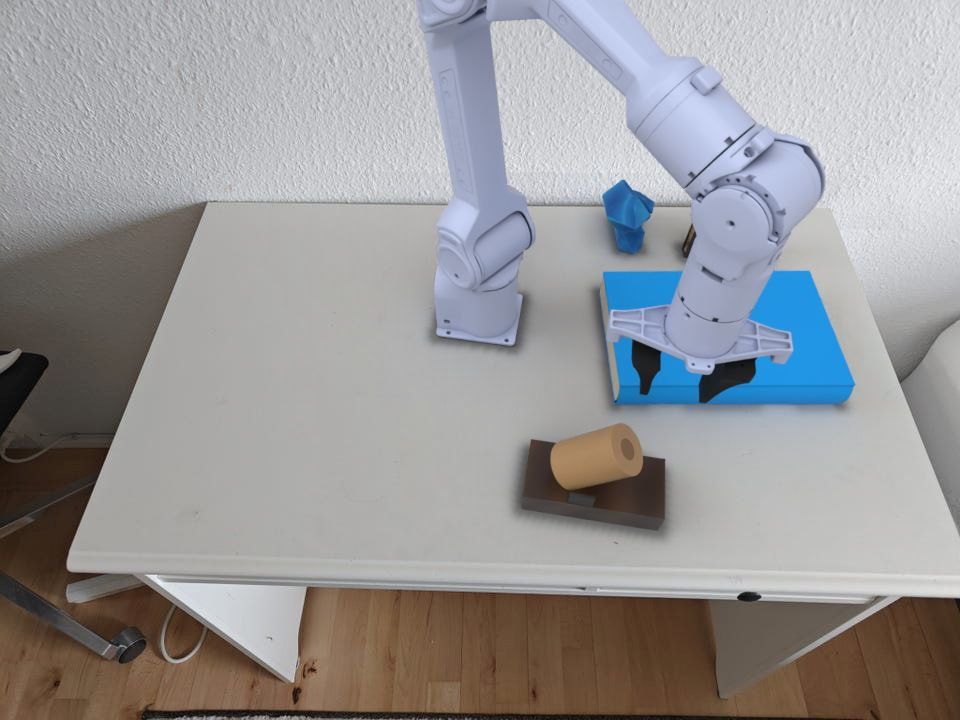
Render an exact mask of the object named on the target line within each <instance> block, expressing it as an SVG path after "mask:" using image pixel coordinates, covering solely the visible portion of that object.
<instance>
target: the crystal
mask: <svg viewBox="0 0 960 720" xmlns="http://www.w3.org/2000/svg"><path fill="white" fill-rule="evenodd" d="M601 198H602V202H603V207H604V210H605V214H606V218H607V220H608V221H609V223H610V224H611V225H612V226H613V230H614V234H615V241H616V246H617V250H618V251H621V252H625V253H629V254H633V255H636V254H637V253H638V252H639V251H640V249H642V246H643V242H644V237H645V233H646V232H645V230H644V228H643V224H644V223H645V222H646V223H647V221H648V220H650V218H651V215H652V214H653V213H654V207H655V201H654V200H652V199H650V198H649V197H648V196H647V195H645V194H644V193H642V192H641V191H638V190H634V189H633V188H632V187H631V185H629V183H628V182H627V181H626V179H621V180H619V181H618V182H617V183H615V184H614V185H612V187H610V188H609V189H607V190H606V191H605V192H604V193H603V194H602V196H601Z"/></svg>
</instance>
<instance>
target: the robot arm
mask: <svg viewBox="0 0 960 720" xmlns="http://www.w3.org/2000/svg"><path fill="white" fill-rule="evenodd" d="M415 4H416V9H417V15H418V20H419V25H420V29H421V32H422V33H423V37H424V42H425V47H426V54H427V58H428V64H429V69H430V70H429V71H430V74H431V80H432V86H433V91H434V97H435V102H436V107H437V111H438V112H437V113H438V116H439V117H438V118H439V122H440V128H441V134H442V140H443V144H444V145H443V146H444V149H445V155H446V159H447V167H448V171H449V177H450V181H451V187H452V193H453V194H452V197H451V199H450V200H449V202H448V204H447V205H446V206H445V209H444V211H443V212H442V213H441V215H440V217H439V218H438V221H437V223H436V225H435V227H436V232H437V243H436V258H437V264H436V265H437V266H436V269H435V276H434V287H433V299H434V308H435V316H436V330H435V334H436V336H437V337H441V338H448V339H455V340H463V341H468V342H469V341H470V342H478V343H485V344H492V345H493V344H494V345H500V346H507V347H513V346H515V344H516V340H517V334H518V328H519V322H520V316H521V311H522V305H523V300H524V296H523V294H522V293H518V290H519V289H518V288H519V270H520V264H521V262H522V261H523V260H524V252H525V251H527V250H529V249H531V248H532V247H533V246H534V244H535V243H536V238H537V237H536V236H537V234H536V233H537V232H536V227H535V223H534V220H533V218H532V216H531V214H530V212H529V210H528V203H527V197H526V195H525V194H524V193H522V191H520V190H518V189H517V188H516V187H514V186H511V185H509V184H508V177H507V168H506V161H505V152H504V151H505V150H504V142H503V134H502V125H501V115H500V106H499V98H498V88H497V80H496V79H497V78H496V70H495V62H494V53H493V45H492V36H491V35H492V34H491V25H492V23H493V22H509V21H511V22H512V21H526V20H541V21H543V22H544V23H545V24H546V25H547V26H549V28H551V29H552V30H553V31H554V32H555V33H556V34H557V35H558V36H559V37H560V38H561V39H562V40H563V41H564V42H566V44H568V45H569V46H570V47H571V48H572V49H573V50H574V51H575V52H576V53H577V54H578V55H579V56H580V57H582V59H584V60H585V61H586V62H587V64H589V65H590V66H591V67H592V68H593V69H594V70H595V71H597V73H599V74H600V75H601V76H602V77H603V78H604V79H605V80H606V81H607V82H608V83H609V84H611V86H612V87H613V88H615V89H616V90H617V91H618V92H619V93H620V94H621V95H622V96H623V97H624V98H625V104H626V105H625V107H626V111H625V112H626V113H625V124H626V128H627V129H628V131H630V132H631V133H632V134H633V136H635V138H636V139H637V140H638V141H639V143H641V145H642V146H643V147H644V148H645V149H646V150H647V151H648V152H649V153H650V155H651V156H652V157H653V158H654V159H655V160H656V161H657V162H658V163H659V164H660V165H661V167H662V168H663V169H664V170H665V171H666V172H667V173H668V174H669V175H670V177H671V178H672V179H673V180H674V181H675V182H676V183H677V184H678V185H679V186H680V188H681V189H683V190H684V192H685V193H686V194H687V195H688V196H689V197H690V198H691V199H692V201H691V203H690V204H691V205H690V217H691V219H690V220H691V224H692V223H693V227H694V229H695V232H696V235H697V236H696V238H695V240H694V243H693V246H692V248H691V251H690V254H689V256H688V258H686V262H685V265H684V267H683V270H682V271H683V273H682V275H681V278H680V281H679V283H678V286H677V289H676V292H675V295H674V297H673V300H672V303H671V304H668V305H661V306H654V307H647V308H641V309H634V310H613V309H611V311H610V315H609V319H608V323H607V337H606V341H609V342H619V340H620V337H625V338H631V339H632V354H631V359H632V364H633V367H634V368H635V369H636V371H637V373H638V375H639V378H640V392H639V393H640V394H641V395H648V393H649V391H650V388H651V384H652V381H653V379H654V377H655V376H656V374H657V373H658V372H659V371H661V352H665V353H667V354H669V355H672V356H674V357H676V358H679V359H681V360H683V361H685V364H686V370H687V371H689V372H691V373H696V374H702V376H701V379H700V382H699V403H705V404H704V405H707V404H706V403H707V402H709V401H710V400H711V399H712V398H714V397H715V396H717V395H718V394H720V393H721V392H723V391H725V390H726V389H729V388H731V387H734V386H737V385H740V384H746V383H750V382H751V380H752V379H753V378H754V376H755V374H756V364H755V361H756V359H757V358H758V357H763V356H771V357H770V359H771V361H772V362H773V363H777V364H785V363H786V361H787V360H788V358H789V357H790V355H791V354H792V352H793V344H792V337H791V332H788V331H782V330H778V329H774V328H771V327H768V326H765V325H762V324H760V323H757V322H755V321H752V320H750V319H748V317H749V315H750V314H751V312H752V310H753V308H754V306H755V304H756V302H757V301H758V299H759V297H760V295H761V293H762V291H763V289H764V288H765V286H766V284H767V282H768V280H769V278H770V276H771V274H772V273H773V271H775V269H776V267H777V264H778V261H779V258H780V257H781V255H782V253H783V250H784V248H785V246H786V244H787V242H788V240H789V239H790V236H791V234H792V231H793V230H794V229H795V228H796V227H797V226H798V225H799V224H800V223H801V222H802V221H803V220H804V219H805V218H806V217H807V216H808V215H809V214H810V213H812V211H813V210H814V209H815V207H816V206H817V204H818V203H819V202H820V201H821V199H822V197H823V196H824V193H825V190H826V184H827V183H826V181H827V180H826V179H827V178H826V173H825V169H824V165H823V164H822V162H821V160H820V158H819V157H818V155H816V153H815V151H814V149H813V147H812V145H811V144H810V143H809V142H808V141H806V140H804V139H802V138H800V137H797V136H794V135H790V134H786V133H779V132H776V131H774V130H773V129H772V128H771V127H770V126H769V125H765V126H764V125H763V124H761V123H760V124H758V122H757V121H756V120H755V119H754V118H753V117H752V115H750V113H748V111H746V109H745V108H744V107H743V106H742V105H741V104H740V103H739V102H738V101H737V99H736V98H734V96H733V95H732V94H731V93H730V92H729V91H728V90H727V88H725V87H724V85H722V83H723V81H724V77H723V76H722V75H721V74H720V73H719V72H718V70H717V69H716V68H715V66H713V65H711V64H708V65H706V66H705V65H704V64H703V63H702V62H701V61H700V59H699V58H698V57H695V56H680V55H679V56H678V55H677V56H674V55H673V56H672V55H668V54H666V53H665V51H663V49H662V48H661V46H660V45H659V44H658V42H657V41H656V40H655V39H654V37H653V36H652V35H651V34H650V32H649V31H648V30H647V29H646V27H645V26H644V24H643V23H642V22H641V20H639V19H638V17H637V15H635V13H634V12H633V10H632V9H631V8H630V7H629V5H627V3H626V2H625V0H415ZM606 341H605V342H606Z"/></svg>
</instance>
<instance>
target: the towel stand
mask: <svg viewBox="0 0 960 720" xmlns="http://www.w3.org/2000/svg"><path fill="white" fill-rule="evenodd" d="M556 443H557V442H553V441H547V440H541V439H535V438H534V439H533V438H531V439H530V443H529V450H528V457H527V464H526V470H525V478H524V484H523V490H522V498H521V507H520V508H521V510H526V511H532V512H533V511H534V512H539V513H544V514H545V513H546V514H551V515H556V516H564V517H570V518H576V519H582V520H589V521H595V522H601V523H607V524H613V525H618V526H619V525H620V526H625V527H626V526H627V527H632V528H639V529H645V530H649V531H650V530H651V531H659V529H660V528H661V527H662V525H663V524H664V522H665V520H666V458H663V457H662V458H661V457H656V456H655V457H654V456H649V455H643V465H642V469H641V471H640V473H639V474H638V475H636V476H633V477H628V478H624V479H620V480H615V481H611V482H607V483H602V484H598V485H594V486H589V487H585V488H581V489H576V490H567V489H565V488H564V487H562V486H561V485H560V484H559V483H558V481H557V480H556V478H555V476H554V474H553V471H552V467H551V451H552V448H553V446H554V445H555V444H556Z"/></svg>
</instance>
